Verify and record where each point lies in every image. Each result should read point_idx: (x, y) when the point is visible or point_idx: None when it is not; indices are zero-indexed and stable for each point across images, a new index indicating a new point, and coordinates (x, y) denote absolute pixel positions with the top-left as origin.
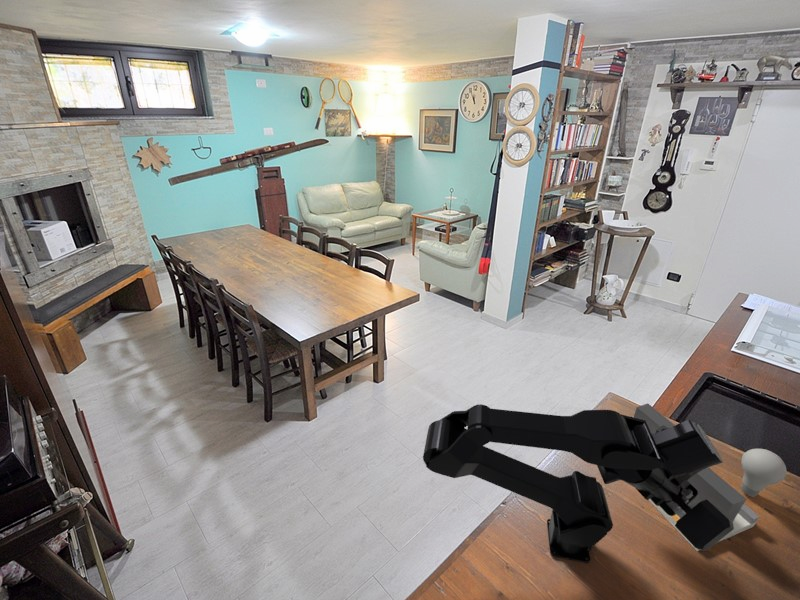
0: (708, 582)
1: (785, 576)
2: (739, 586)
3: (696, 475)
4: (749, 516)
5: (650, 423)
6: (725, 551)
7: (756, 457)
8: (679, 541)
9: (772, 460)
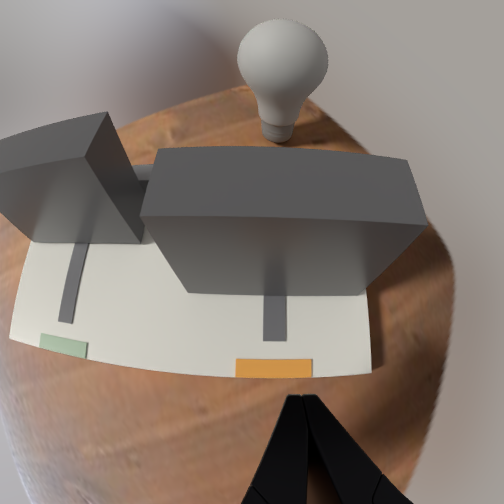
0: (418, 405)
1: (433, 237)
2: (438, 344)
3: (246, 225)
4: None
5: (14, 184)
6: (379, 304)
7: (275, 39)
8: (326, 398)
9: (300, 27)
